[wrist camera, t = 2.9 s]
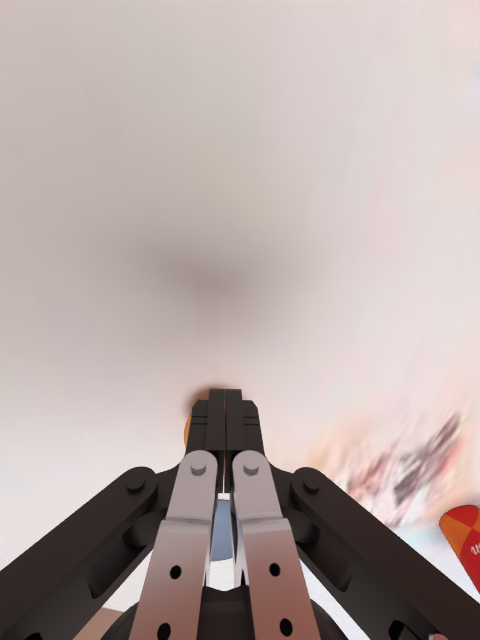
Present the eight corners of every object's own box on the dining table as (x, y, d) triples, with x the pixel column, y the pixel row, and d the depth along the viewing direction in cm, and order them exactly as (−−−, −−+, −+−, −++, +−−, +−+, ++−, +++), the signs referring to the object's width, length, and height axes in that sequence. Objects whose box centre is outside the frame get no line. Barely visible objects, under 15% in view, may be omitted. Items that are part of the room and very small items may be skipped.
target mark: (143, 528, 34) (142, 529, 33) (225, 485, 31) (225, 486, 31) (203, 570, 38) (203, 572, 38) (278, 534, 36) (279, 536, 36)
